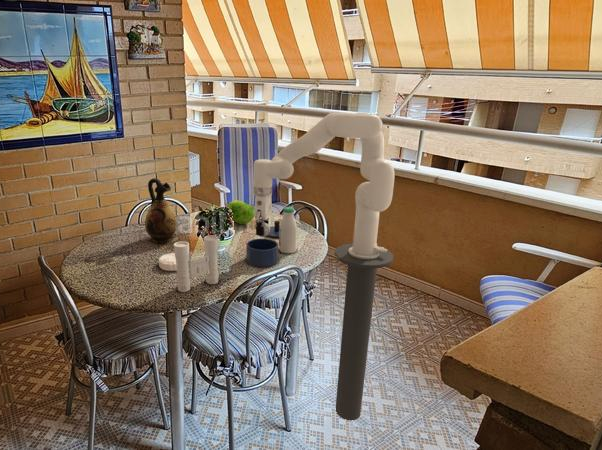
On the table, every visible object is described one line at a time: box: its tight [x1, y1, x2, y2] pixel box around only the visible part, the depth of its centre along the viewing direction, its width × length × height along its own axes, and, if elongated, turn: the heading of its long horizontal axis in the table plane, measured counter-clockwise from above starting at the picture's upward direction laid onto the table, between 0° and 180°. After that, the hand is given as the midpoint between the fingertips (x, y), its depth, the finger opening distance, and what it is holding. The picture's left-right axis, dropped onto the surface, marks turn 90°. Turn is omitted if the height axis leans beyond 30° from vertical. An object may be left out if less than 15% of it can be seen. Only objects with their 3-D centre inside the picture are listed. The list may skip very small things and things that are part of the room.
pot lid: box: [266, 220, 281, 238], centre depth 203 cm, size 14×14×6 cm
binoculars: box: [173, 234, 220, 293], centre depth 151 cm, size 17×5×18 cm, turn 118°
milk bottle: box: [278, 206, 298, 254], centre depth 180 cm, size 8×8×20 cm
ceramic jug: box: [144, 177, 178, 244], centre depth 195 cm, size 17×15×30 cm
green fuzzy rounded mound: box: [226, 199, 255, 225], centre depth 220 cm, size 13×23×12 cm, turn 25°
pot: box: [245, 238, 279, 268], centre depth 173 cm, size 13×13×8 cm
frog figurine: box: [254, 221, 271, 238], centre depth 169 cm, size 6×7×7 cm
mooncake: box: [158, 252, 177, 272], centre depth 171 cm, size 12×12×4 cm
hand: (262, 232), depth 169 cm, fingers closed on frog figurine, 6 cm apart
